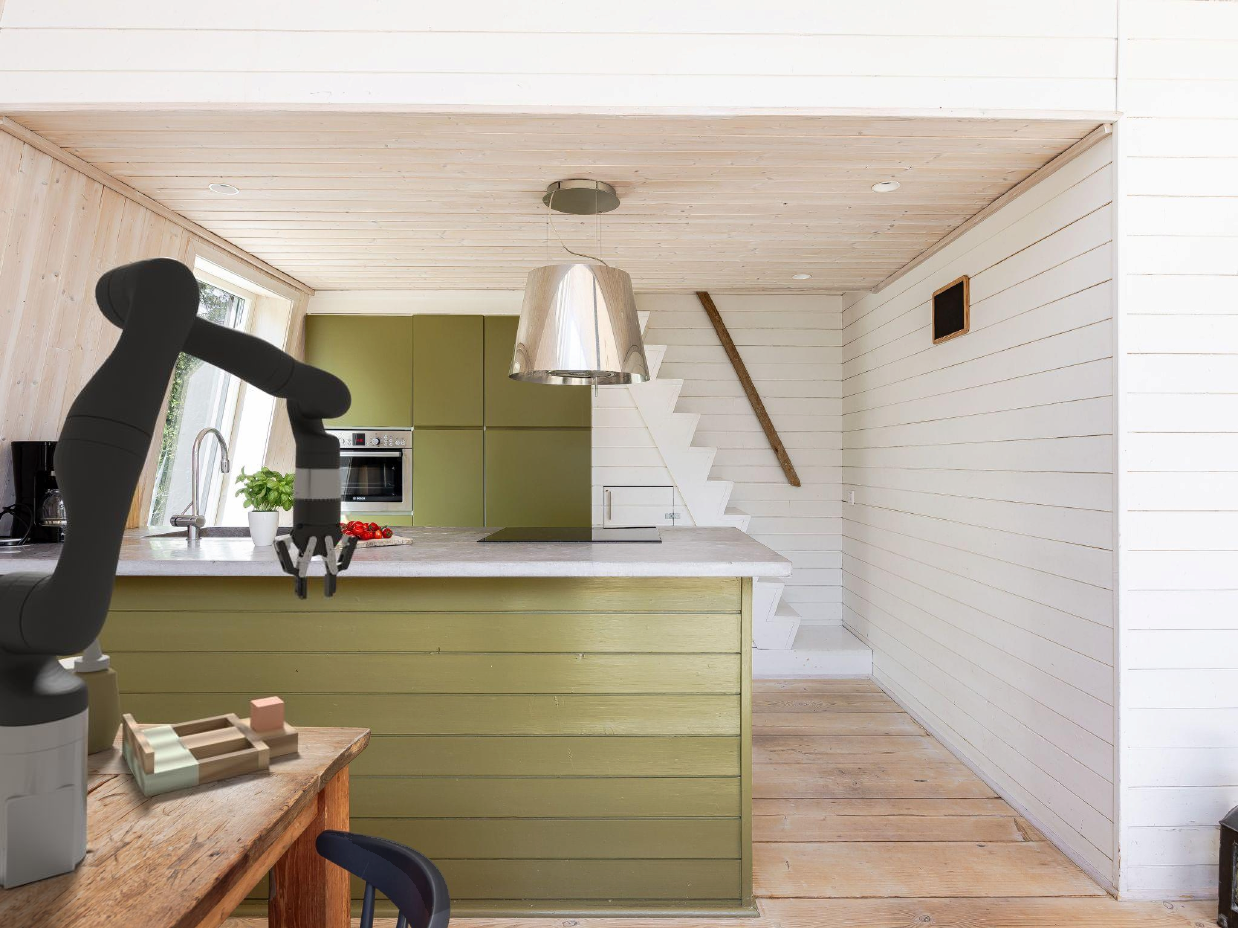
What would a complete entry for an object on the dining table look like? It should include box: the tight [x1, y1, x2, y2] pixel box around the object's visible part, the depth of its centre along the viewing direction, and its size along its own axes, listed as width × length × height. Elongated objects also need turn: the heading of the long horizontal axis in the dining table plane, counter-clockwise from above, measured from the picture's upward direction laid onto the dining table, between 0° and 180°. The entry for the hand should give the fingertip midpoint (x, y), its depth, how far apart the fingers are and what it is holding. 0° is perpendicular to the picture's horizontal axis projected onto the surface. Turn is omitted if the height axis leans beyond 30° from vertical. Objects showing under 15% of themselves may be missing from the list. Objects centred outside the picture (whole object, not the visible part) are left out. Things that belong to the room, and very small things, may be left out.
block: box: [249, 695, 285, 732], centre depth 124 cm, size 4×4×4 cm
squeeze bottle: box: [72, 636, 123, 754], centre depth 121 cm, size 8×8×18 cm
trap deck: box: [121, 712, 299, 798], centre depth 119 cm, size 20×22×6 cm
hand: (315, 596), depth 129 cm, fingers open, 3 cm apart
